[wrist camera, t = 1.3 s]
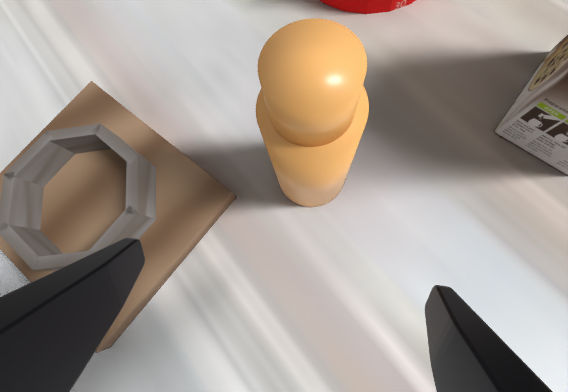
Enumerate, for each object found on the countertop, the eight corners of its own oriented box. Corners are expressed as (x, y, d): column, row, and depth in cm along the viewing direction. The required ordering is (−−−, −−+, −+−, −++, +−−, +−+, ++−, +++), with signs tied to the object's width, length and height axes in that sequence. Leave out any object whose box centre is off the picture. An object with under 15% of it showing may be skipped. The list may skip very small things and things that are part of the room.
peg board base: (236, 197, 24) (221, 182, 20) (109, 347, 22) (66, 363, 18) (103, 91, 27) (68, 61, 23) (-17, 213, 25) (-75, 202, 22)
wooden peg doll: (358, 168, 24) (413, 48, 11) (317, 220, 23) (325, 156, 10) (305, 131, 25) (299, -16, 12) (264, 180, 24) (213, 78, 11)
